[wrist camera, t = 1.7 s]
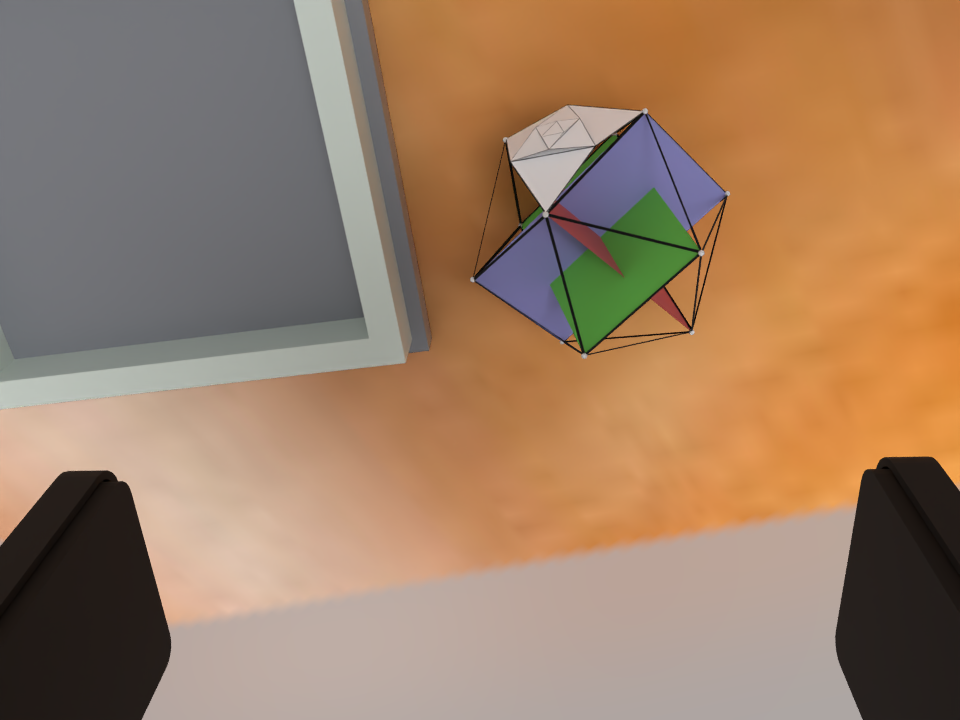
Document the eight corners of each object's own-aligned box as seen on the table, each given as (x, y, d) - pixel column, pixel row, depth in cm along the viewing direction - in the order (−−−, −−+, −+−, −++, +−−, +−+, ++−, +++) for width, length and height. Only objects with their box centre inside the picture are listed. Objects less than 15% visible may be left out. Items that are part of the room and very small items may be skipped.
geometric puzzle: (799, 264, 27) (744, 223, 20) (631, 404, 30) (530, 410, 23) (654, 104, 30) (559, 17, 23) (509, 246, 32) (382, 207, 25)
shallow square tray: (339, -149, 25) (318, -156, 22) (431, 338, 31) (423, 374, 29) (-187, -56, 26) (-261, -53, 24) (5, 387, 33) (-38, 426, 30)
